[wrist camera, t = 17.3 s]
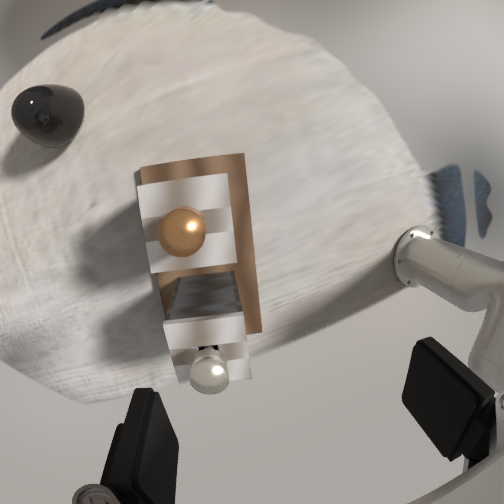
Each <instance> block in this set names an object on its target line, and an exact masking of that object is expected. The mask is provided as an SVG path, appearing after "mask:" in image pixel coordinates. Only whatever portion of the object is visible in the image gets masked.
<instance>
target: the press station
mask: <svg viewBox="0 0 504 504" xmlns="http://www.w3.org/2000/svg"><path fill="white" fill-rule="evenodd" d="M140 172H141V181H142V185H140V186H137V191H138V199H139V206H140V213H141V220H142V226H143V232H144V238H145V244H146V250H147V255H148V260H149V265H150V271H151V273H156V275H157V280H158V285H159V290H160V294H161V299H162V303H163V308H164V312H165V319H164V322H163V328H164V332H165V336H166V339H167V343H168V347H169V350H170V354H171V358H172V361H173V365H174V368H175V371H176V375H177V378H178V381H179V385H180V386H192V385H191V383H190V369H191V360H192V357H193V356H194V354H195V353H197V352H198V351H200V350H203V349H204V346H210V345H214V350H217V351H219V352H221V353H222V354H223V355H224V356H225V357H226V359H227V363H228V374H229V382H230V381H237V380H245V379H251V378H252V375H251V368H250V360H249V353H248V345H247V337H246V335H247V334H254V333H261V332H262V325H261V315H260V305H259V295H258V285H257V275H256V265H255V255H254V245H253V235H252V225H251V215H250V205H249V195H248V185H247V176H246V166H245V156H244V153H240V154H230V155H221V156H212V157H204V158H196V159H189V160H182V161H175V162H169V163H163V164H157V165H151V166H145V167H140ZM180 206H189V207H193V208H195V209H197V210H198V211H199V212H200V213H201V214H202V215H203V217H204V219H205V221H206V235H205V240H204V243H203V245H202V247H201V248H200V249H199V251H197V252H196V253H195V254H193V255H191V256H188V257H175V256H172V255H170V254H169V253H167V252H166V251H165V250H164V249H163V248H162V246H161V245H160V243H159V240H158V227H159V224H160V222H161V220H162V219H163V217H164V216H165V215H167V214H168V213H169V212H170V211H172V210H173V209H175V208H177V207H180Z"/></svg>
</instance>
